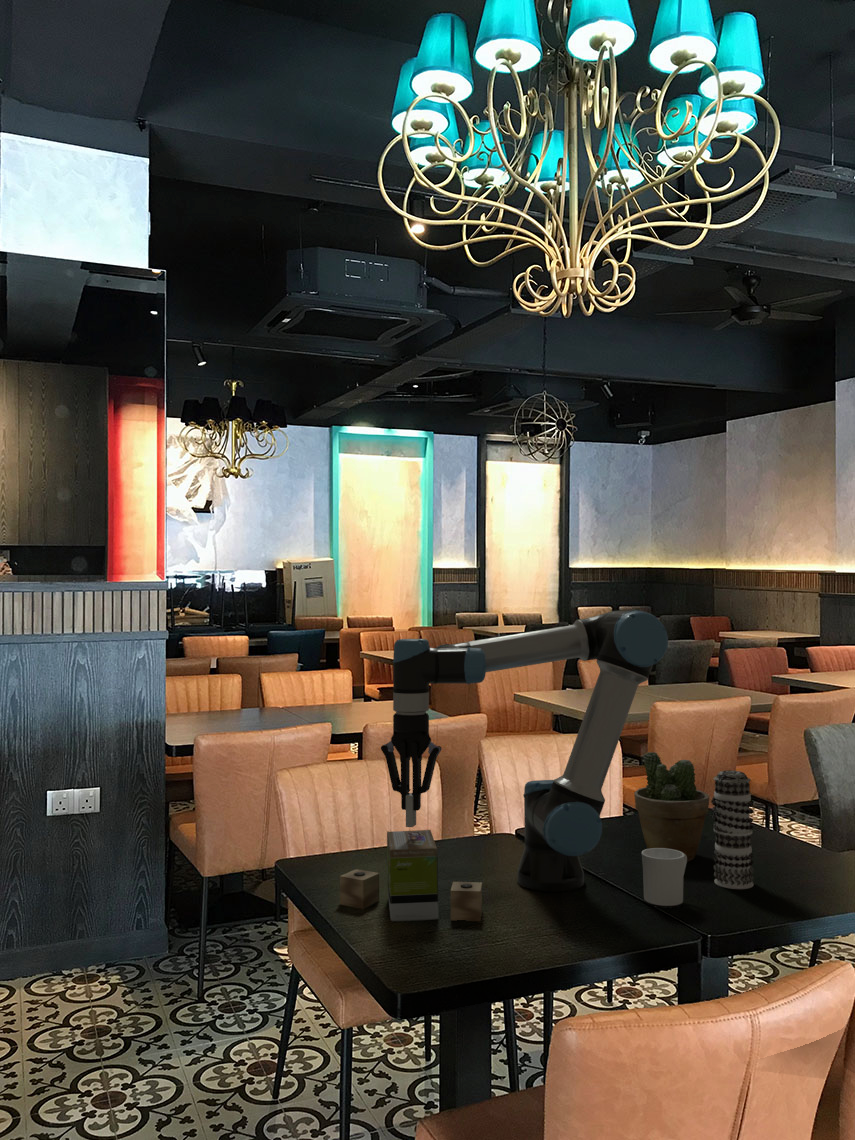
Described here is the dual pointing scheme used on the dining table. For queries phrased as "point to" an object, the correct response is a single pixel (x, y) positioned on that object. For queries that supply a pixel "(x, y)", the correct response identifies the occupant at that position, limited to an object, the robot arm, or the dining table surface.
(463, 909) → the oak block
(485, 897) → the dining table surface
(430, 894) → the tea box
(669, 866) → the mug
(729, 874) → the decorative candle
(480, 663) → the robot arm
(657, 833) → the potted plant
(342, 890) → the oak block
